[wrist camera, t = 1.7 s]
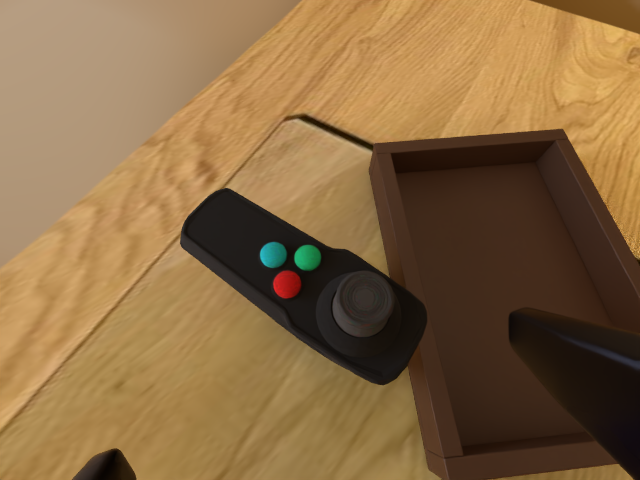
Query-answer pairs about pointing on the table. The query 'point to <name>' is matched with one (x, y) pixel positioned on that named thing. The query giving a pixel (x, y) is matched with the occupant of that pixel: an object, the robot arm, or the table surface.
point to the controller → (308, 286)
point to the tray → (498, 289)
